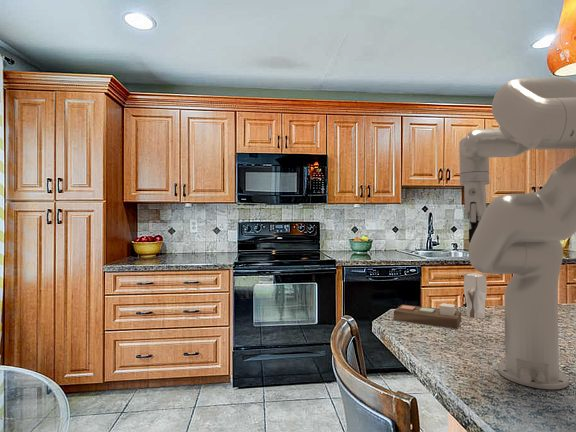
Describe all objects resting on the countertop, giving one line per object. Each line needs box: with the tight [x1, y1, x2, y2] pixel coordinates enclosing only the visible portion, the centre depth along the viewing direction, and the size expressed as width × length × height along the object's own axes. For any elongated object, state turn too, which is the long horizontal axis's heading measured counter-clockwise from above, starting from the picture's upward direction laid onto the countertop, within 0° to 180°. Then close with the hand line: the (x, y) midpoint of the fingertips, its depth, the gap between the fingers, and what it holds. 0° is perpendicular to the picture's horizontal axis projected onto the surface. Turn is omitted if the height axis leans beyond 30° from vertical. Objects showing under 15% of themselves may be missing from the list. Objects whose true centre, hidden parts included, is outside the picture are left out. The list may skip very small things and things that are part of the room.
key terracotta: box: [400, 304, 415, 311], centre depth 119 cm, size 4×4×3 cm
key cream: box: [439, 302, 456, 316], centre depth 113 cm, size 4×4×3 cm
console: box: [393, 304, 462, 330], centre depth 116 cm, size 10×19×4 cm, turn 58°
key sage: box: [419, 307, 436, 314], centre depth 116 cm, size 4×4×3 cm
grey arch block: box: [463, 272, 488, 319], centre depth 121 cm, size 7×7×15 cm
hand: (475, 243), depth 102 cm, fingers closed
